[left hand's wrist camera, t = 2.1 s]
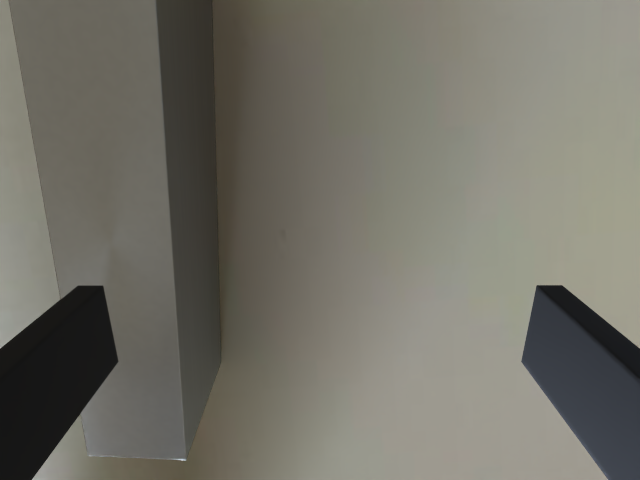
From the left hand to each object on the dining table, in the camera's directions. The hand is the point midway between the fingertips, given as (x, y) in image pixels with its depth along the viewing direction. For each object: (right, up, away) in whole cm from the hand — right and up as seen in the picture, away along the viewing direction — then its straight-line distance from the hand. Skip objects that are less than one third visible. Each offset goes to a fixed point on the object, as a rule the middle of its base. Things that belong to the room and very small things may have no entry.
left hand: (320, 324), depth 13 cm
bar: (-10, +6, +16) cm, 19 cm away
